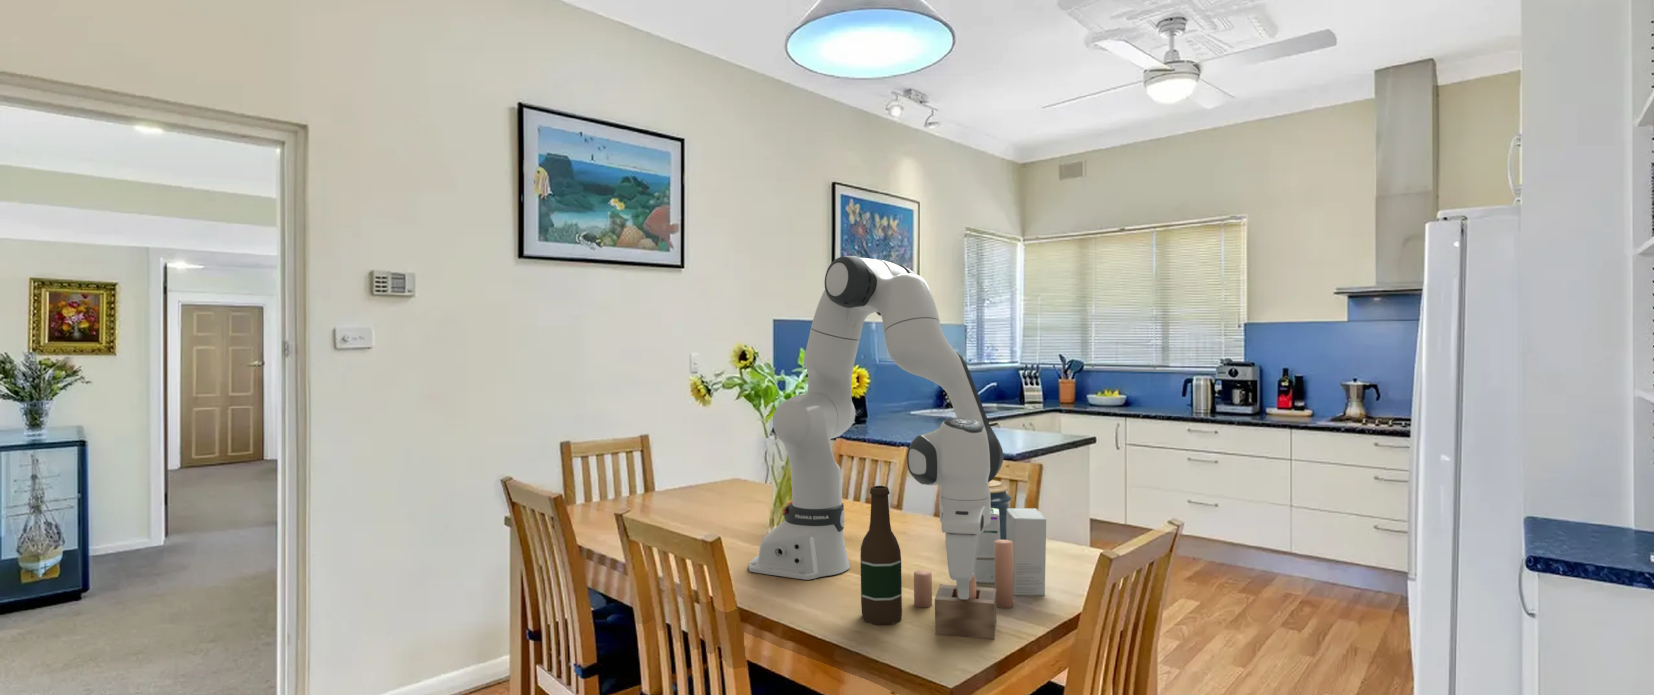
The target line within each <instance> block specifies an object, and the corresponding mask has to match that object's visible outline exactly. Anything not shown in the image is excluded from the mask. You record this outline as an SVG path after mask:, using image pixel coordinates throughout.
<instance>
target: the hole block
mask: <svg viewBox="0 0 1654 695" xmlns="http://www.w3.org/2000/svg"><path fill="white" fill-rule="evenodd" d="M996 628H997V606H996V588H995V587H983V586H982V587H980V586H976V599H970V598H968V599H967V600H966V599H960V598H957V584H956V585H954V584H953V585H952V584H939V587H938V589H937V592H936V594H935V598H934V634H935V635H946V636H957V637H958V636H959V637H968V638H969V637H970V638H980V639H991V640H995V639H996V638H995V637H996V636H995V635H996V631H997V630H996Z"/></svg>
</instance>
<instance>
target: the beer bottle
mask: <svg viewBox="0 0 1654 695" xmlns="http://www.w3.org/2000/svg"><path fill="white" fill-rule="evenodd" d="M869 494H870V495H871V497H870V498H871V500H870V515H869V516H870V519H869V520H870V521H869V526H868V531H867V532H866V534H865V535H864V537H863V539H862V542H861V545H860V555H859V556H860V606H861V608H860V609H861V616H862V621H863V622H865V623H869V624H871V625H874V626H882V625H883V626H888V625H889V626H890V625H891V626H892V625H894V624H896V623H897V622H899V621H901V620H902V618H903V617H902V616H903V614H902V613H903V612H902V610H903V605H902V604H903V601H902V600H903V595H902V593H903V592H902V591H903V590H902V589H903V588H902V587H903V586H902V583H903V582H902V553H901V548H900V545H899V542H898V540H897V537H896V535H895V534H894V533H893V531H892V527H891V518H890V516H891V515H890V505H889V504H890V503H889V502H890V501H889V495H890V494H891V493H890V489H889V487H888V486H886V485H874V486H871V487H870V490H869Z"/></svg>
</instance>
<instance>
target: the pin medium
mask: <svg viewBox="0 0 1654 695" xmlns="http://www.w3.org/2000/svg"><path fill="white" fill-rule="evenodd" d="M955 581H956V582H957V580H955ZM956 586H957V585H956ZM976 587H977V582H976V576H975V575H974V574H973V576H972V579H971V580H970V581H969V598H970V599H976ZM957 598H959V597H958V586H957Z"/></svg>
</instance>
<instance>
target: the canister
mask: <svg viewBox="0 0 1654 695" xmlns="http://www.w3.org/2000/svg"><path fill="white" fill-rule="evenodd" d="M988 487H989V490H990V503H991V508H997V509H999V519H1000V537H1001V540H1006V520H1007V509H1009V508H1010V502H1011V500H1012V496H1011V495H1010V494H1008V493H1007V491H1008V489H1009V488H1008V486H1006V485H1005V484H1003V482H1001V481H1000V480H999V481H998V480H994V479H992V480H991V481H990V482H988Z"/></svg>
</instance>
